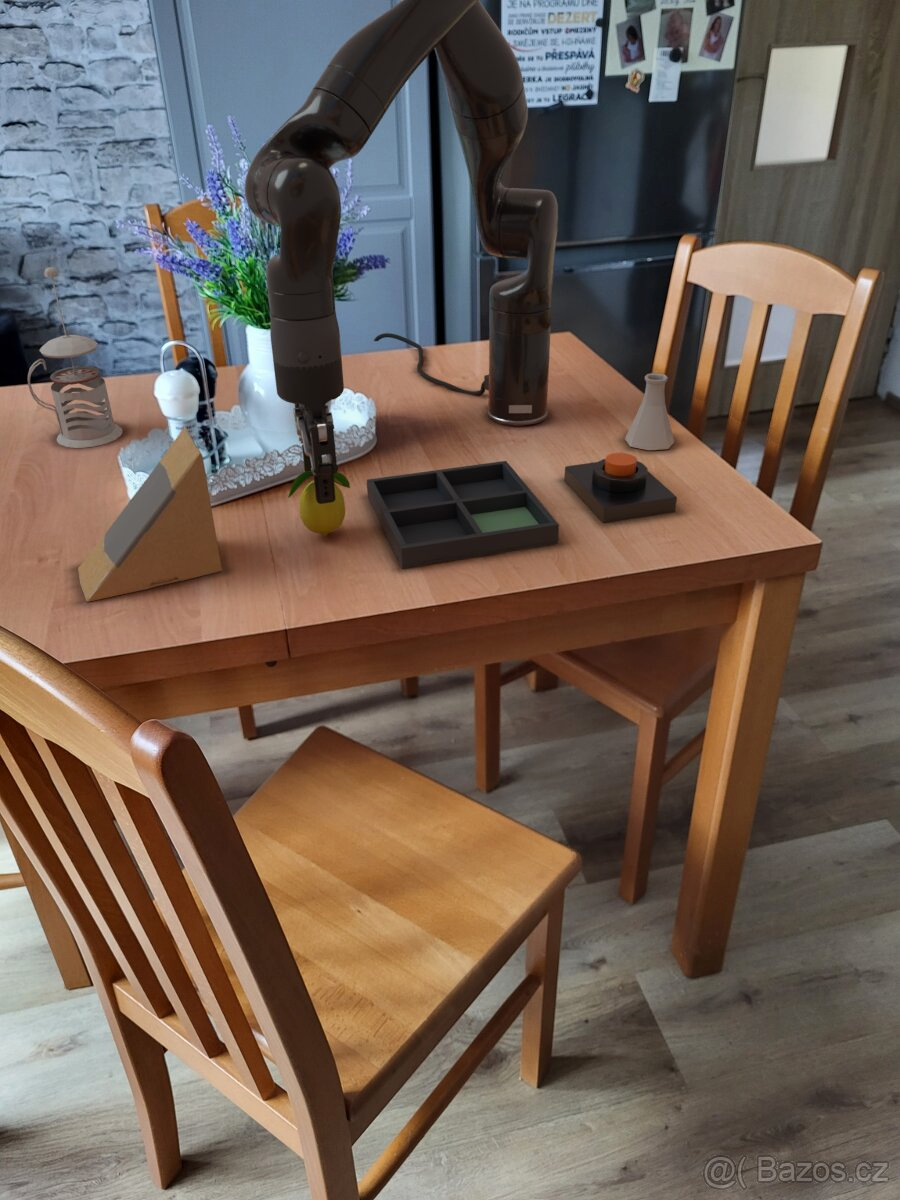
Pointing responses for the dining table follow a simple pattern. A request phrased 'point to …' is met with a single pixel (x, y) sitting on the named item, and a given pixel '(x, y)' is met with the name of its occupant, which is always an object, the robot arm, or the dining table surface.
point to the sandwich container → (158, 530)
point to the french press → (81, 424)
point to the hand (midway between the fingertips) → (319, 486)
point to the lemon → (320, 505)
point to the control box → (619, 492)
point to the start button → (620, 464)
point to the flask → (652, 418)
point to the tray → (459, 514)
